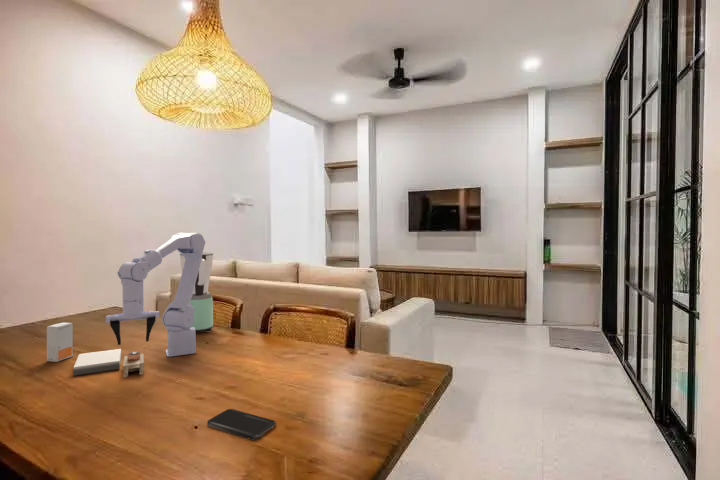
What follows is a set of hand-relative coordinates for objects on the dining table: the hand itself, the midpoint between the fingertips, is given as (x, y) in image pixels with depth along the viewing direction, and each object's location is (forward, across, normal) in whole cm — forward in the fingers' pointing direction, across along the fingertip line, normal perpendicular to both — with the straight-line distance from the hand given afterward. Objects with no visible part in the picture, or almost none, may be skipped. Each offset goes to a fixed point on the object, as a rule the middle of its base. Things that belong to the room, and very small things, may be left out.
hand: (133, 342), depth 124 cm
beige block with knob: (+9, 0, 0) cm, 9 cm away
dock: (+9, -10, +11) cm, 17 cm away
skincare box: (+9, -22, +24) cm, 34 cm away
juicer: (+9, +24, +39) cm, 47 cm away
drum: (+6, 0, 0) cm, 6 cm away
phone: (+10, +22, -51) cm, 56 cm away
